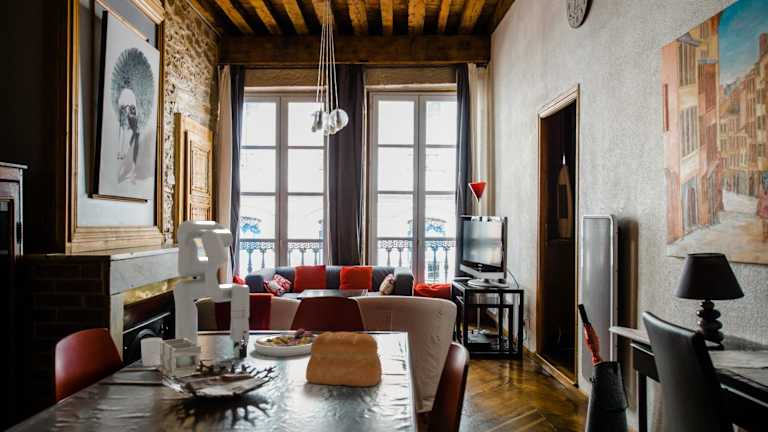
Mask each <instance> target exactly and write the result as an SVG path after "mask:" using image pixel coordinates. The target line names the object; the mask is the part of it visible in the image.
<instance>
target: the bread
mask: <svg viewBox="0 0 768 432" xmlns="http://www.w3.org/2000/svg"><path fill="white" fill-rule="evenodd" d="M317 336H318V337H316V339H315V340H314V341H313V343H312V346H311V353H310V358H309V359H308V362H307V366H306V369H305V370H306V372H305V379H306V381H307V382H308V383H312V384H314V385H315V384H317V385H319V384H324V385H331V386H343V385H345V386H348V387H361V388H362V387H365V388H367V387H373V386H375V385H378V384H379V382H380V381H381V380H382V373H383V370H382V363H381V359H380V357H379V355H378V348H379V347H378V342H377V341H376V338H374V337H373V336H372V335H371V334H369V333H366V332H363V333H358V332H353V331H352V332H348V331H339V332H338V331H337V332H335V333H334V332H332V331H326V332H323V333H321V334H319V335H317Z"/></svg>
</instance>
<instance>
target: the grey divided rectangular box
mask: <svg viewBox="0 0 768 432" xmlns="http://www.w3.org/2000/svg"><path fill="white" fill-rule="evenodd" d="M201 354H202V345H201V346H199V345H197V344H196V343H194V342H192V341H190V340H188V339H186V338H180V339H176V338H173V339H167V340H165V339H164V340H162V341H160V364H156V365H155V366H156V369H157V370H159V371H160V372H161V373H162V374H163V375H165V376H166V375H167V376H174V375H175V376H181V375H188V374H192V373H194V372H195V371H196V368H197V367H198V366H199V363H200V364H201ZM186 356H189V357H190V358H191V365H190V366H187V367H181V368H177V366H176V359H177V358H179V357H186ZM167 376H166V377H167Z"/></svg>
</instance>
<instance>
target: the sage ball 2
mask: <svg viewBox="0 0 768 432" xmlns="http://www.w3.org/2000/svg"><path fill="white" fill-rule="evenodd" d="M239 349H240V345H238V346H236V347H235V348H234V351H233V352H232V353H233V354H234V355H233V356H234V357H235V358H236V359H240V358H239ZM240 360H241V359H240Z"/></svg>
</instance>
